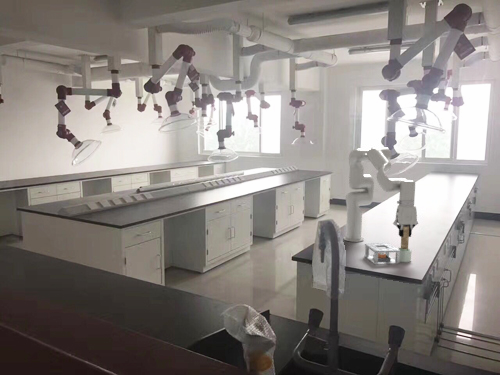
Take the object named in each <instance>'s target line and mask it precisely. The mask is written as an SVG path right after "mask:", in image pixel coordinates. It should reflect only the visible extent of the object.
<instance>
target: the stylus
mask: <svg viewBox="0 0 500 375" xmlns="http://www.w3.org/2000/svg"><path fill="white" fill-rule="evenodd" d="M409 239H410V237H409V225H403V237H400V248H401V249H409Z"/></svg>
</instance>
